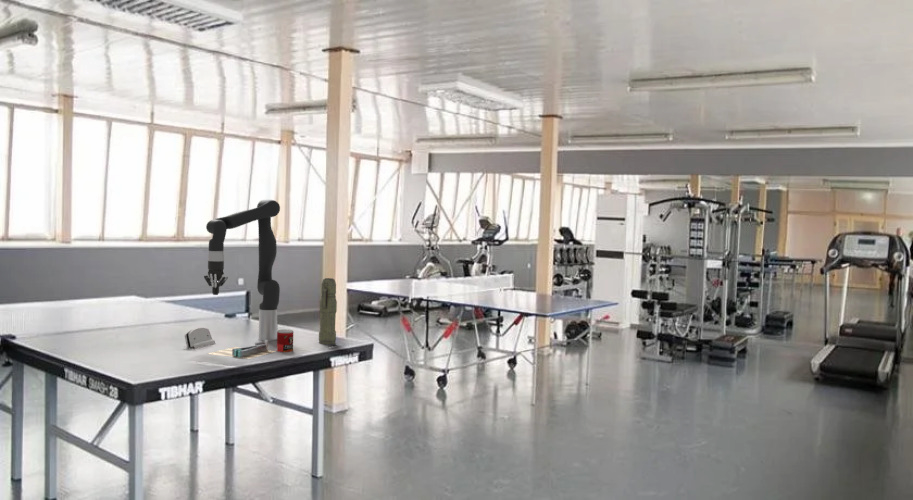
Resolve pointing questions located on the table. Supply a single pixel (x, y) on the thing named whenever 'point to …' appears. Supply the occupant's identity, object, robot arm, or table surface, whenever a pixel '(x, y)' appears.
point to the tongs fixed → (253, 350)
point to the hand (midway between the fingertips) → (215, 294)
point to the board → (229, 353)
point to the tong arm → (244, 348)
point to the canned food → (285, 340)
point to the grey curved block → (198, 338)
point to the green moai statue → (328, 312)
